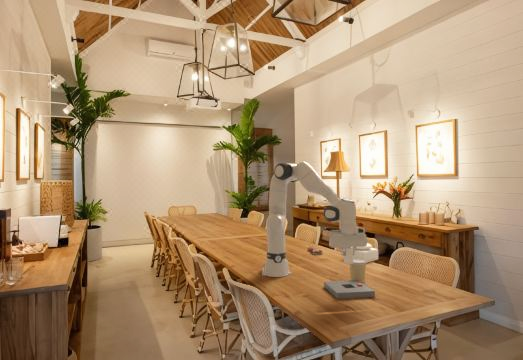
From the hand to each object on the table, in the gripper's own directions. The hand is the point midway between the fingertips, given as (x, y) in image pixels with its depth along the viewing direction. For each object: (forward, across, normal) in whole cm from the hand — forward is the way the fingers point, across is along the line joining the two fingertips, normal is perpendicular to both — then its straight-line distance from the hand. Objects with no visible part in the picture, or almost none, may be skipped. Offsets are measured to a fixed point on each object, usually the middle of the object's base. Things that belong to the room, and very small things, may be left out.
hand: (348, 255), depth 185 cm
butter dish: (+20, +38, +68) cm, 80 cm away
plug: (+4, 0, 0) cm, 4 cm away
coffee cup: (+20, +13, +17) cm, 29 cm away
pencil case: (+20, +12, +96) cm, 98 cm away
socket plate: (+19, 0, 0) cm, 19 cm away
